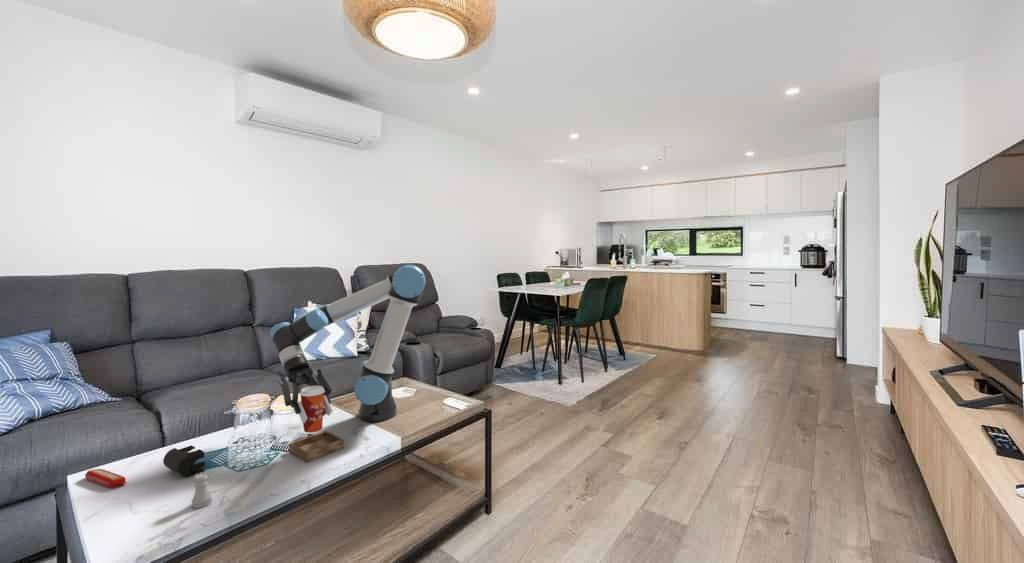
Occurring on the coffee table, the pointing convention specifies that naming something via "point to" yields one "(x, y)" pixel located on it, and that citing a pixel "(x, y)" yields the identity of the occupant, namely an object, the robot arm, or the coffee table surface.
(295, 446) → the tray
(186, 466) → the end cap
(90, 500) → the coffee table surface
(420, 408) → the coffee table surface
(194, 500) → the rook chess piece
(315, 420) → the paper cup
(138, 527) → the coffee table surface
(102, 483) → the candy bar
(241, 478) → the coffee table surface
